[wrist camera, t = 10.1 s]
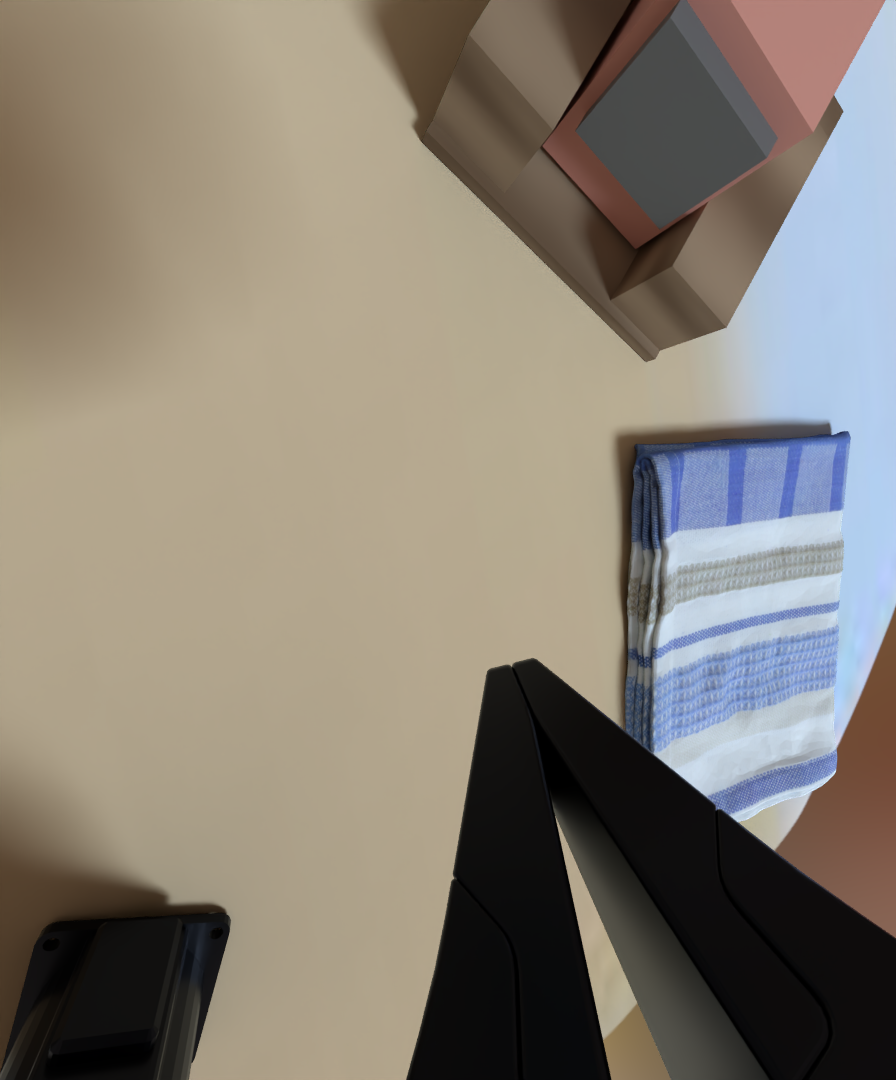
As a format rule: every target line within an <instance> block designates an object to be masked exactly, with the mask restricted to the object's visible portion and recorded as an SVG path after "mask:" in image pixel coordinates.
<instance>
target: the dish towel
mask: <svg viewBox="0 0 896 1080" xmlns="http://www.w3.org/2000/svg"><path fill="white" fill-rule="evenodd" d="M849 448H850V434H849V432H848V431H843V432H840V433H837V434H834V435H828V434H824V435H817V436H812V437H804V438H787V439H724V440H717V441H711V442H694V443H680V444H636V445H635V449H636V451H637V457H636V463H635V467H634V470H633V478H634V491H633V498H632V546H631V555H630V561H629V570H628V599H627V608H628V609H627V615H628V671H627V678H626V690H625V721H626V732H627V733H628V734H629V735H631V736H632V737H633V738H634V739H636V740H637V741H638V742H639V743H641V744H642V745H643V746H644V747H646V748H647V749H648V750H649V751H650V752H652V753H653V754H654V755H655V756H657V757H658V758H659V759H660V760H662V761H663V762H664V763H665V764H666V765H668V766H669V767H670V768H671V769H673V770H674V771H675V772H676V773H678V774H679V775H680V776H681V777H683V778H684V779H685V780H686V781H687V782H689V783H690V784H691V785H692V786H694V787H695V788H696V789H697V790H699V791H700V792H701V793H702V794H704V795H705V796H706V797H707V798H708V799H710V800H711V801H712V802H713V803H714V804H715V805H716V811H717V809H722V810H724V811H725V812H726V813H727V814H729V815H730V816H731V817H732V818H733V819H735V820H736V821H737V822H740V821H744V820H747V819H749V818H751V817H753V816H754V815H756V814H757V813H758V812H759V811H761V810H763V809H765V808H768V807H770V806H772V805H775V804H777V803H779V802H782V801H784V800H787V799H791V798H796V797H802V796H804V795H806V794H807V793H809V792H811V791H813V790H815V789H817V788H819V787H820V786H822V785H823V784H825V783H826V782H827V781H828V780H829V779H830V778H831V777H832V776H833V775H834V774H835V771H836V765H837V751H836V743H835V733H834V686H835V682H836V672H837V650H838V631H839V626H838V621H837V612H838V607H839V592H840V581H841V574H842V570H843V556H844V549H843V547H844V542H843V538H842V533H841V524H842V516H843V507H844V498H845V488H846V477H847V467H848V457H849Z"/></svg>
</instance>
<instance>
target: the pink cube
mask: <svg viewBox="0 0 896 1080" xmlns="http://www.w3.org/2000/svg"><path fill="white" fill-rule="evenodd" d="M884 2H885V0H634V1H633V2H632V4H631V5H630V6H629V8H628V9H627V10H626V12H625V13H624V14H623V16H622V17H621V19H620V20H619V21H618V23H617V24H616V26H615V28H614V29H613V31H612V33H611V35H610V36H609V38H608V40H607V41H606V43H605V45H604V46H603V48H602V50H601V51H600V53H599V55H598V56H597V58H596V60H595V61H594V63H593V65H592V66H591V68H590V70H589V71H588V73H587V75H586V76H585V78H584V80H583V81H582V83H581V85H580V86H579V88H578V90H577V91H576V93H575V95H574V96H573V98H572V100H571V101H570V103H569V105H568V106H567V108H566V110H565V111H564V113H563V115H562V116H561V118H560V120H559V121H558V123H557V125H556V127H555V128H554V130H553V131H552V133H551V134H550V135H549V136H548V138H547V139H546V141H545V142H544V144H543V147H544V148H545V150H546V151H547V152H548V153H549V154H550V155H551V156H552V157H553V158H554V160H555V161H556V162H557V163H558V164H559V165H560V166H561V167H562V168H563V170H564V171H565V172H566V173H567V174H568V175H569V176H570V177H571V178H572V180H573V181H574V182H575V183H576V184H577V185H578V186H579V187H580V188H581V189H582V191H583V192H584V193H585V194H586V195H587V196H588V197H589V198H590V199H591V201H592V202H593V203H594V204H595V205H596V206H597V207H598V208H599V209H600V211H601V212H602V213H603V214H604V215H605V216H606V217H607V218H608V219H609V220H610V222H611V223H612V224H613V225H614V226H615V227H616V228H617V229H618V230H619V232H620V233H621V234H622V235H623V236H624V237H625V238H626V239H627V240H628V242H629V243H630V244H631V245H632V246H633V247H634V248H635V249H637V248H638V247H640V246H641V245H643V244H644V243H646V242H647V241H649V240H650V239H652V238H654V237H655V236H657V235H658V234H660V233H661V232H663V231H664V230H666V229H667V228H669V227H670V226H672V225H673V224H675V223H676V222H678V221H679V220H681V219H682V218H684V217H686V216H687V215H689V214H690V213H692V212H693V211H695V210H696V209H698V208H699V207H701V206H702V205H704V204H705V203H707V202H708V201H710V200H711V199H713V198H714V197H716V196H718V195H719V194H721V193H722V192H724V191H725V190H727V189H728V188H730V187H731V186H733V185H734V184H736V183H737V182H739V181H740V180H742V179H743V178H745V177H746V176H748V175H750V174H751V173H753V172H754V171H756V170H757V169H759V168H760V167H762V166H763V165H765V164H766V163H768V162H769V161H771V160H772V159H774V158H775V157H777V156H778V155H780V154H782V153H783V152H785V151H786V150H788V149H789V148H791V147H792V146H794V145H795V144H797V143H798V142H800V141H801V140H803V139H804V138H806V137H807V136H809V135H810V134H812V133H813V132H814V130H815V129H816V127H817V125H818V123H819V121H820V119H821V118H822V116H823V114H824V112H825V110H826V108H827V107H828V105H829V103H830V101H831V99H832V97H833V96H834V94H835V92H836V90H837V88H838V86H839V85H840V83H841V81H842V79H843V77H844V75H845V74H846V72H847V70H848V68H849V66H850V64H851V63H852V61H853V59H854V57H855V55H856V53H857V52H858V50H859V48H860V46H861V44H862V42H863V41H864V39H865V37H866V35H867V33H868V31H869V30H870V28H871V26H872V24H873V22H874V20H875V19H876V17H877V15H878V13H879V11H880V9H881V8H882V6H883V4H884Z"/></svg>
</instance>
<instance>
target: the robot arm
mask: <svg viewBox="0 0 896 1080" xmlns="http://www.w3.org/2000/svg"><path fill="white" fill-rule="evenodd" d="M555 816H556V818H557V820H558V822H559V825H560V827H561V829H562V832H563V834H564V836H565V838H566V841H567V843H568V845H569V848H570V850H571V852H572V854H573V857H574V859H575V861H576V863H577V866H578V868H579V870H580V873H581V875H582V877H583V879H584V882H585V884H586V886H587V889H588V891H589V893H590V895H591V898H592V900H593V902H594V905H595V907H596V909H597V911H598V914H599V916H600V918H601V921H602V923H603V925H604V927H605V930H606V932H607V934H608V936H609V939H610V941H611V943H612V946H613V948H614V950H615V952H616V955H617V957H618V959H619V962H620V964H621V966H622V968H623V971H624V973H625V975H626V978H627V980H628V982H629V984H630V987H631V989H632V991H633V994H634V996H635V998H636V1000H637V1003H638V1005H639V1007H640V1009H641V1012H642V1014H643V1016H644V1018H645V1021H646V1023H647V1025H648V1028H649V1030H650V1032H651V1035H652V1037H653V1039H654V1041H655V1043H656V1046H657V1048H658V1051H659V1053H660V1055H661V1057H662V1060H663V1062H664V1064H665V1067H666V1069H667V1071H668V1073H669V1076H670V1078H671V1080H896V938H895V937H893V936H892V935H890V934H889V933H888V932H886V931H885V930H883V929H882V928H880V927H879V926H877V925H876V924H874V923H873V922H872V921H870V920H869V919H867V918H866V917H864V916H863V915H861V914H860V913H859V912H857V911H856V910H854V909H853V908H852V907H850V906H849V905H847V904H846V903H845V902H843V901H842V900H840V899H839V898H838V897H836V896H835V895H833V894H832V893H831V892H829V891H828V890H826V889H825V888H824V887H822V886H821V885H819V884H818V883H817V882H815V881H814V880H812V879H811V878H810V877H808V876H807V875H805V874H804V873H802V872H801V871H800V870H798V869H797V868H796V867H794V866H793V865H792V864H791V863H789V862H788V861H786V860H785V859H784V858H783V857H782V856H780V855H779V854H778V853H776V852H775V851H774V850H773V849H771V848H770V847H769V846H767V845H766V844H765V843H763V842H762V841H761V840H760V839H758V838H757V837H756V836H754V835H753V834H752V833H751V832H749V831H748V830H747V829H746V828H744V827H743V826H742V825H741V824H740V823H738V822H737V821H736V820H735V819H733V818H732V817H731V816H730V815H729V814H727V813H726V812H725V811H724V810H722V809H717V811H716V805H715V804H714V803H713V802H712V801H711V800H710V799H708V798H707V797H706V796H705V795H704V794H702V793H701V792H700V791H699V790H697V789H696V788H695V787H694V786H692V785H691V784H690V783H689V782H687V781H686V780H685V779H684V778H683V777H681V776H680V775H679V774H678V773H676V772H675V771H674V770H673V769H671V768H670V767H669V766H668V765H666V764H665V763H664V762H663V761H662V760H660V759H659V758H658V757H657V756H655V755H654V754H653V753H652V752H650V751H649V750H648V749H647V748H646V747H644V746H643V745H642V744H641V743H639V742H638V741H637V740H636V739H634V738H633V737H632V736H631V735H629V734H628V733H627V732H626V731H625V730H623V729H622V728H621V727H620V726H618V725H617V724H616V723H615V722H613V721H612V720H611V719H610V718H608V717H607V716H606V715H605V714H604V713H602V712H601V711H600V710H599V709H597V708H596V707H595V706H594V705H592V704H591V703H590V702H589V701H587V700H586V699H585V698H584V697H583V696H581V695H580V694H579V693H578V692H576V691H575V690H574V689H573V688H571V687H570V686H569V685H568V684H566V683H565V682H564V681H563V680H562V679H560V678H559V677H558V676H557V675H555V674H554V673H553V672H552V671H550V670H549V669H548V668H547V667H545V666H544V665H543V664H542V663H541V662H539V661H538V660H537V659H534V658H531V659H527V660H523V661H519V662H515V663H514V664H513V665H512V667H511V666H510V665H503V666H499V667H495V668H491V669H489V670H488V671H487V674H486V680H485V686H484V692H483V698H482V704H481V710H480V716H479V722H478V728H477V734H476V740H475V745H474V751H473V757H472V763H471V769H470V775H469V781H468V787H467V793H466V799H465V805H464V811H463V817H462V823H461V828H460V834H459V840H458V846H457V852H456V858H455V864H454V870H453V876H454V879H453V880H452V881H451V886H450V892H449V897H448V903H447V909H446V915H445V920H444V925H443V930H442V935H441V940H440V945H439V950H438V956H437V961H436V966H435V970H434V974H433V978H432V982H431V986H430V991H429V995H428V999H427V1003H426V1007H425V1011H424V1015H423V1019H422V1023H421V1027H420V1031H419V1035H418V1039H417V1042H416V1046H415V1050H414V1053H413V1057H412V1060H411V1064H410V1068H409V1071H408V1075H407V1079H406V1080H611V1076H610V1071H609V1067H608V1062H607V1057H606V1052H605V1048H604V1043H603V1038H602V1033H601V1029H600V1024H599V1019H598V1015H597V1010H596V1005H595V1001H594V996H593V991H592V987H591V982H590V977H589V973H588V968H587V963H586V958H585V954H584V949H583V944H582V940H581V935H580V930H579V926H578V921H577V916H576V912H575V907H574V902H573V898H572V893H571V888H570V884H569V879H568V874H567V870H566V865H565V860H564V855H563V851H562V846H561V841H560V837H559V832H558V827H557V823H556V818H555ZM230 924H231V919H230V917H229V916H228V915H227V914H224V913H212V914H193V915H174V916H156V917H137V918H118V919H99V920H80V921H61V922H55V923H52V924H50V925H48V926H47V927H45V928H44V929H43V930H42V932H41V934H40V936H39V938H38V940H37V941H36V943H35V945H34V949H33V952H32V956H31V960H30V964H29V967H28V971H27V975H26V979H25V982H24V986H23V990H22V994H21V997H20V1001H19V1005H18V1009H17V1012H16V1016H15V1020H14V1024H13V1027H12V1031H11V1035H10V1039H9V1042H8V1046H7V1050H6V1054H5V1057H4V1061H3V1065H2V1069H1V1073H0V1080H189V1075H190V1069H191V1063H192V1062H193V1060H194V1058H195V1055H196V1052H197V1048H198V1044H199V1041H200V1037H201V1034H202V1030H203V1026H204V1023H205V1019H206V1016H207V1012H208V1008H209V1005H210V1001H211V998H212V994H213V990H214V987H215V983H216V979H217V976H218V972H219V969H220V965H221V961H222V958H223V954H224V951H225V947H226V943H227V940H228V936H229V932H230ZM218 927H219V928H221V929H219V930H213V929H214V928H218ZM51 938H57V939H58V940H56V941H52V940H50V939H51Z"/></svg>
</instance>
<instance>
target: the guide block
mask: <svg viewBox="0 0 896 1080" xmlns="http://www.w3.org/2000/svg"><path fill="white" fill-rule="evenodd" d="M633 1H634V0H490V1H489V3H488V4H487V6H486V8H485V9H484V11H483V12H482V14H481V16H480V17H479V19H478V20H477V22H476V24H475V25H474V27H473V28H472V30H471V32H470V33H469V35H468V37H467V40H466V42H465V45H464V47H463V49H462V52H461V54H460V56H459V59H458V61H457V64H456V66H455V68H454V71H453V73H452V76H451V78H450V80H449V83H448V85H447V87H446V90H445V92H444V95H443V97H442V99H441V102H440V104H439V107H438V109H437V111H436V114H435V116H434V118H433V121H432V122H431V124H430V125H429V127H428V129H427V130H426V133H425V135H424V137H423V140H422V142H423V143H424V144H425V145H426V146H427V147H428V148H429V149H430V150H431V151H432V152H433V153H434V154H435V155H436V156H437V157H438V158H439V159H440V160H441V161H442V162H443V163H444V164H445V165H446V166H447V167H448V168H449V169H450V170H451V171H452V172H453V173H454V174H455V175H456V176H457V177H458V178H459V179H460V180H461V181H462V182H463V183H464V184H465V185H466V186H467V187H468V188H469V189H470V190H472V191H473V192H474V193H475V194H476V195H477V196H478V197H479V198H480V199H481V200H482V201H483V202H484V203H485V204H486V205H487V206H488V207H489V208H490V209H491V210H492V211H493V212H494V213H495V214H496V215H497V216H498V217H499V218H500V219H501V220H502V221H503V222H504V223H505V224H506V225H507V226H508V227H509V228H510V229H511V230H512V231H513V232H514V233H515V234H516V235H517V236H518V237H519V238H520V239H521V240H522V241H523V242H524V243H525V244H527V245H528V246H529V247H530V248H531V249H532V250H533V251H534V252H535V253H536V254H537V255H538V256H539V257H540V258H541V259H542V260H543V261H544V262H545V263H546V264H547V265H548V266H549V267H550V268H551V269H552V270H553V271H554V272H555V273H556V274H557V275H558V276H559V277H560V278H561V279H562V280H563V281H564V282H565V283H566V284H567V285H568V286H569V287H570V288H571V289H572V290H573V291H574V292H575V293H576V294H577V295H578V296H579V297H580V298H582V299H583V300H584V301H585V302H586V303H587V304H588V305H589V306H590V307H591V308H592V309H593V310H594V311H595V312H596V313H597V314H598V315H599V316H600V317H601V318H602V319H603V320H604V321H605V322H606V323H607V324H608V325H609V326H610V327H611V328H612V329H613V330H614V331H615V332H616V333H617V334H618V335H619V336H620V337H621V338H622V339H623V340H624V341H625V342H626V343H627V344H628V345H629V346H630V347H631V348H632V349H633V350H634V351H635V352H637V353H638V354H639V355H640V356H641V357H642V358H643V359H644V360H645V361H646V362H648V361H651V360H654V359H656V357H657V355H658V353H659V351H660V350H663V349H666V348H669V347H672V346H675V345H677V344H680V343H683V342H686V341H689V340H692V339H695V338H698V337H701V336H703V335H706V334H709V333H712V332H715V331H718V330H721V329H724V328H726V327H727V325H728V324H729V322H730V320H731V318H732V316H733V314H734V313H735V311H736V309H737V307H738V305H739V303H740V301H741V300H742V298H743V296H744V294H745V292H746V290H747V289H748V287H749V285H750V283H751V281H752V279H753V277H754V276H755V274H756V272H757V270H758V268H759V266H760V265H761V263H762V261H763V259H764V257H765V255H766V253H767V252H768V250H769V248H770V246H771V244H772V242H773V241H774V239H775V237H776V235H777V233H778V231H779V229H780V228H781V226H782V224H783V222H784V220H785V218H786V217H787V215H788V213H789V211H790V209H791V207H792V205H793V204H794V202H795V200H796V198H797V196H798V194H799V193H800V191H801V189H802V187H803V185H804V183H805V181H806V180H807V178H808V176H809V174H810V172H811V170H812V169H813V167H814V165H815V163H816V161H817V159H818V157H819V156H820V154H821V152H822V150H823V148H824V146H825V145H826V143H827V141H828V139H829V137H830V135H831V133H832V132H833V130H834V128H835V126H836V124H837V122H838V121H839V119H840V117H841V115H842V113H843V110H842V108H841V106H840V105H839V103H838V101H837V100H836V98H835V96H833V97H832V99H831V101H830V103H829V105H828V107H827V108H826V110H825V112H824V114H823V116H822V118H821V119H820V121H819V123H818V125H817V127H816V129H815V130H814V132H813V133H812V134H810V135H809V136H807V137H806V138H804V139H803V140H801V141H800V142H798V143H797V144H795V145H794V146H792V147H791V148H789V149H788V150H786V151H785V152H783V153H782V154H780V155H778V156H777V157H775V158H774V159H772V160H771V161H769V162H768V163H766V164H765V165H763V166H762V167H760V168H759V169H757V170H756V171H754V172H753V173H751V174H750V175H748V176H746V177H745V178H743V179H742V180H740V181H739V182H737V183H736V184H734V185H733V186H731V187H730V188H728V189H727V190H725V191H724V192H722V193H721V194H719V195H718V196H716V197H714V198H713V199H711V200H710V201H708V202H707V203H705V204H704V205H702V206H701V207H699V208H698V209H696V210H695V211H693V212H692V213H690V214H689V215H687V216H686V217H684V218H682V219H681V220H679V221H678V222H676V223H675V224H673V225H672V226H670V227H669V228H667V229H666V230H664V231H663V232H661V233H660V234H658V235H657V236H655V237H654V238H652V239H650V240H649V241H647V242H646V243H644V244H643V245H641V246H640V247H638V248H637V249H635V248H634V247H633V246H632V245H631V244H630V243H629V242H628V240H627V239H626V238H625V237H624V236H623V235H622V234H621V233H620V232H619V230H618V229H617V228H616V227H615V226H614V225H613V224H612V223H611V222H610V220H609V219H608V218H607V217H606V216H605V215H604V214H603V213H602V212H601V211H600V209H599V208H598V207H597V206H596V205H595V204H594V203H593V202H592V201H591V199H590V198H589V197H588V196H587V195H586V194H585V193H584V192H583V191H582V189H581V188H580V187H579V186H578V185H577V184H576V183H575V182H574V181H573V180H572V178H571V177H570V176H569V175H568V174H567V173H566V172H565V171H564V170H563V168H562V167H561V166H560V165H559V164H558V163H557V162H556V161H555V160H554V158H553V157H552V156H551V155H550V154H549V153H548V152H547V151H546V150H545V148H544V147H543V144H544V142H545V141H546V139H547V138H548V136H549V135H550V134H551V133H552V131H553V130H554V128H555V127H556V125H557V123H558V121H559V120H560V118H561V116H562V115H563V113H564V111H565V110H566V108H567V106H568V105H569V103H570V101H571V100H572V98H573V96H574V95H575V93H576V91H577V90H578V88H579V86H580V85H581V83H582V81H583V80H584V78H585V76H586V75H587V73H588V71H589V70H590V68H591V66H592V65H593V63H594V61H595V60H596V58H597V56H598V55H599V53H600V51H601V50H602V48H603V46H604V45H605V43H606V41H607V40H608V38H609V36H610V35H611V33H612V31H613V29H614V28H615V26H616V24H617V23H618V21H619V20H620V19H621V17H622V16H623V14H624V13H625V12H626V10H627V9H628V8H629V6H630V5H631V4H632V2H633Z"/></svg>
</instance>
